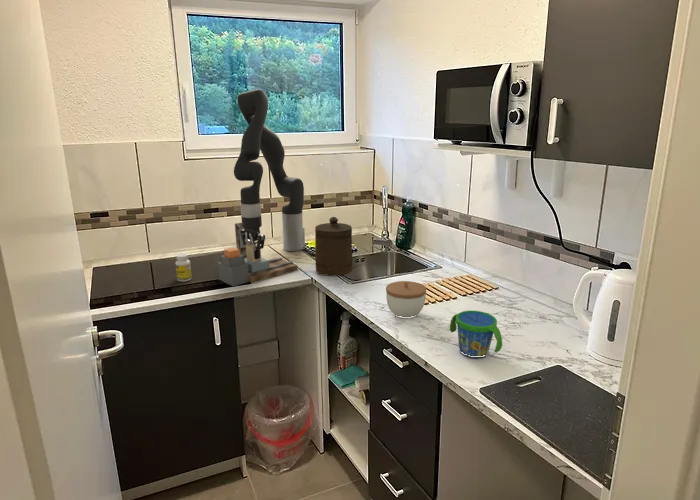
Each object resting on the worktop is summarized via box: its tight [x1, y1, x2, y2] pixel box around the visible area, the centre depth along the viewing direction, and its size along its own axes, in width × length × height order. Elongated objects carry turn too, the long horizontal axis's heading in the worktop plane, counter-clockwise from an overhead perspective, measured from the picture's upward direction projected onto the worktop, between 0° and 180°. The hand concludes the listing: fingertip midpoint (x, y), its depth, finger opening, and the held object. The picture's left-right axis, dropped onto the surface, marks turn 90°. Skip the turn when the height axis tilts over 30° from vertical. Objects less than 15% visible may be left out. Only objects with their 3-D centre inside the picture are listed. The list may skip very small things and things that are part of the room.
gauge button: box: [223, 247, 240, 258], centre depth 182 cm, size 4×4×3 cm
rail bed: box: [248, 257, 299, 284], centre depth 195 cm, size 22×14×3 cm, turn 135°
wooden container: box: [314, 216, 353, 277], centre depth 194 cm, size 15×15×22 cm
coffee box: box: [234, 222, 247, 259], centre depth 207 cm, size 9×6×16 cm
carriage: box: [244, 244, 270, 272], centre depth 190 cm, size 8×9×9 cm
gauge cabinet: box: [217, 254, 250, 287], centre depth 184 cm, size 7×10×10 cm
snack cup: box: [449, 310, 503, 356], centre depth 129 cm, size 16×10×10 cm
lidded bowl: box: [385, 280, 427, 317], centre depth 154 cm, size 13×13×11 cm
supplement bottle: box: [175, 253, 192, 282], centre depth 185 cm, size 5×5×10 cm
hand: (253, 257), depth 190 cm, fingers closed on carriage, 4 cm apart
